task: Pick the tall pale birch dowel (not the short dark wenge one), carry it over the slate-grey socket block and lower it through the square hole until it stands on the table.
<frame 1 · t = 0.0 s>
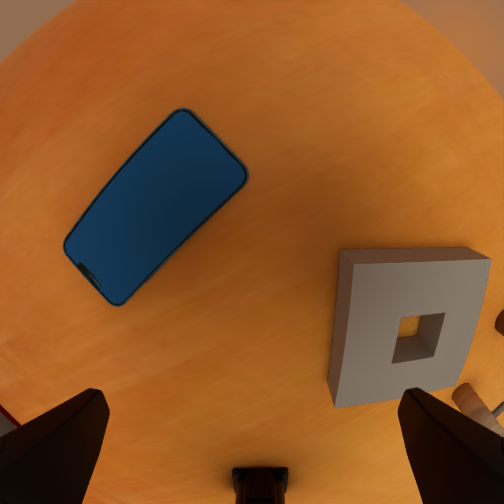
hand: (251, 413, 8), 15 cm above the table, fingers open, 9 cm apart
smartphone: (147, 211, 22), on the table
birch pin: (460, 392, 25), on the table
wenge pin: (503, 319, 23), on the table
socket block: (401, 317, 23), on the table
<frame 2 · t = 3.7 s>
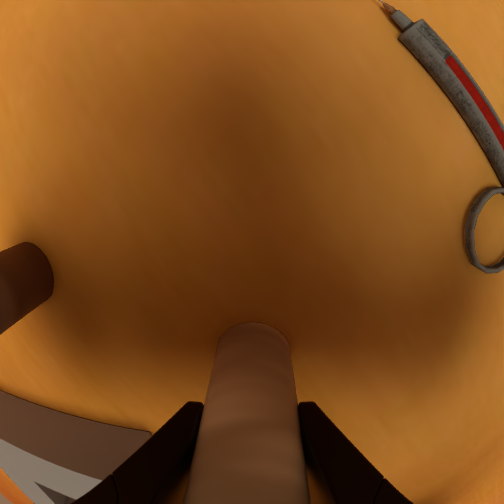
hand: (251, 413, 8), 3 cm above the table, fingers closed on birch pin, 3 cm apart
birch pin: (253, 353, 10), on the table, touching gripper
syringe: (491, 163, 9), on the table
wenge pin: (31, 273, 10), on the table
socket block: (89, 470, 14), on the table
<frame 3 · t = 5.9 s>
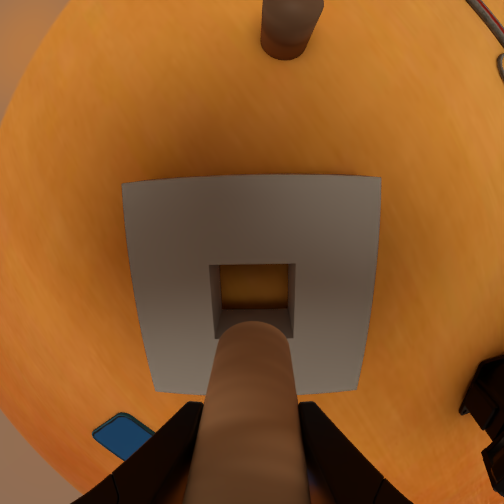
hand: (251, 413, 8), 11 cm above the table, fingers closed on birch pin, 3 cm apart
smartphone: (168, 460, 24), on the table
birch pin: (253, 352, 10), point 8 cm above the table, touching gripper
syringe: (502, 49, 13), on the table
wenge pin: (283, 41, 14), on the table
socket block: (254, 278, 18), on the table
when the fingers open (4 cm above the table, at t = 8.1 s): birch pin stays where it is, resting in socket block.
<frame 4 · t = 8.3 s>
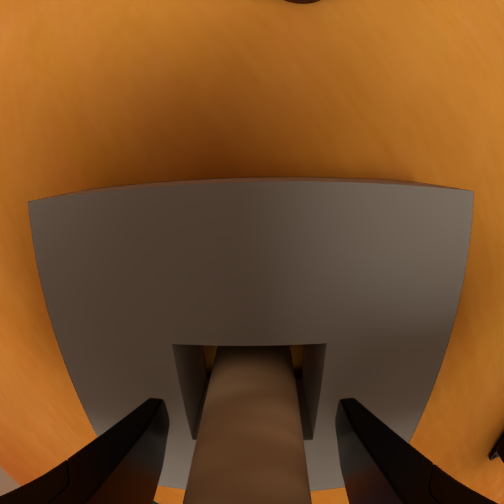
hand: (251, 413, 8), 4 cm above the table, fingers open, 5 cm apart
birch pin: (254, 338, 11), resting in socket block
socket block: (253, 339, 11), on the table
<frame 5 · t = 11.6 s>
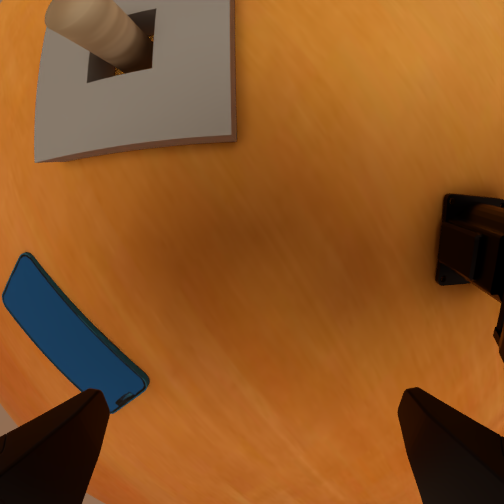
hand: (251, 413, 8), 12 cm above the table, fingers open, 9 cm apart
smartphone: (69, 335, 22), on the table
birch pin: (142, 61, 16), resting in socket block
socket block: (142, 62, 16), on the table
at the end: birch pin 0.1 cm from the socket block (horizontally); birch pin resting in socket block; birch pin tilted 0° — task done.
